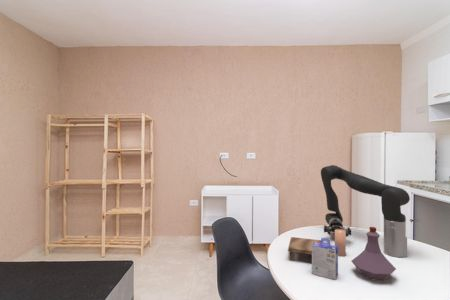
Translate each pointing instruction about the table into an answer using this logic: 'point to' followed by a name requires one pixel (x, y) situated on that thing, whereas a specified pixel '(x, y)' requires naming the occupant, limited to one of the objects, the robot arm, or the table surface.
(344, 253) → the peach cylinder
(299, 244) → the walnut stand
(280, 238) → the table surface
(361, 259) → the flask
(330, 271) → the ink cartridge box
